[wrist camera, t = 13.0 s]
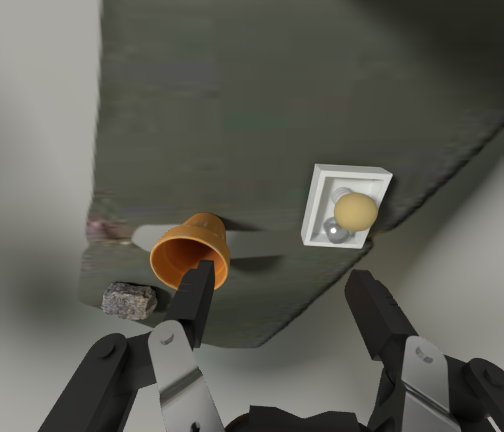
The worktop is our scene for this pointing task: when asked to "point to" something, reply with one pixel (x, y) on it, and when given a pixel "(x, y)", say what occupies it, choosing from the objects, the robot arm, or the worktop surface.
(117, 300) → the rock
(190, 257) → the flower pot
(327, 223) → the grey rounded piece
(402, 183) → the worktop surface
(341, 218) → the amber frosted bulb
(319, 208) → the tray
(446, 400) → the robot arm
